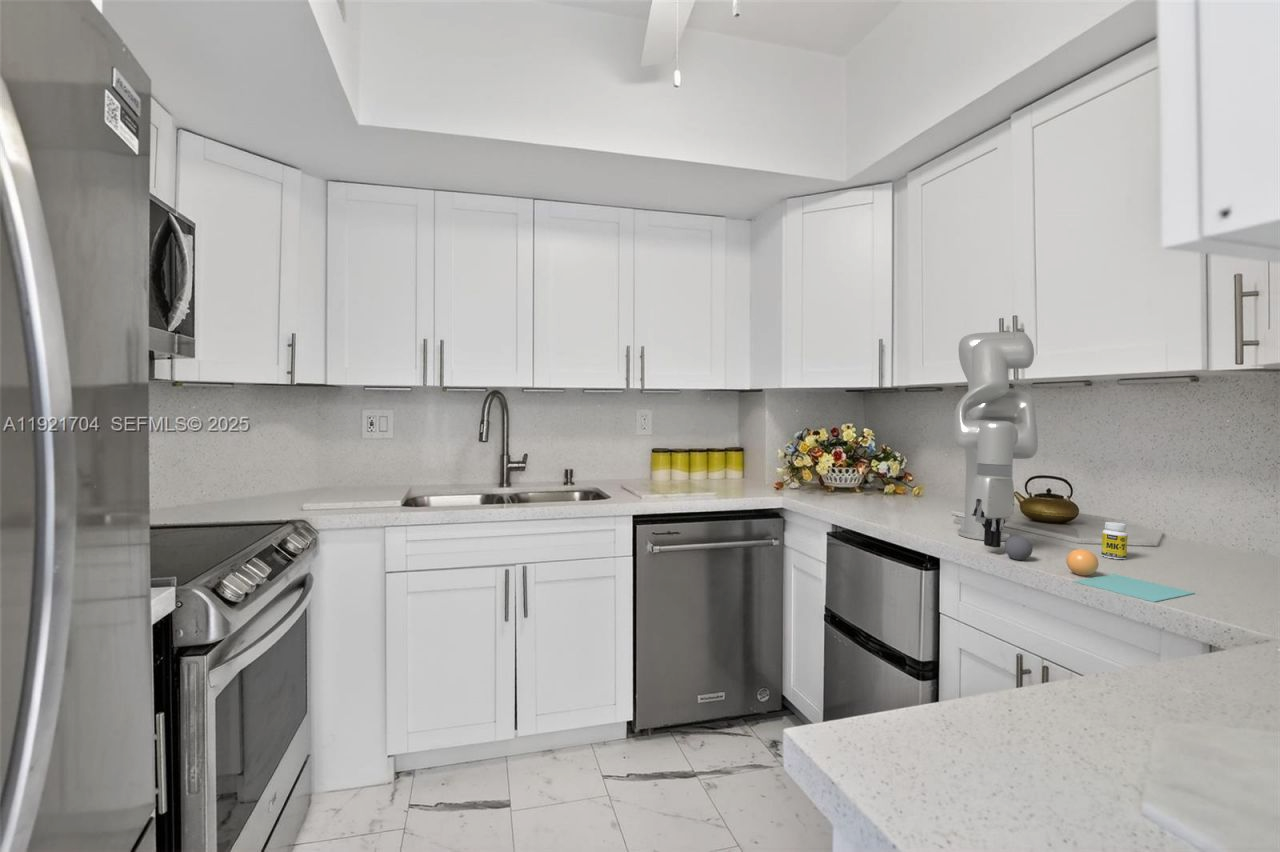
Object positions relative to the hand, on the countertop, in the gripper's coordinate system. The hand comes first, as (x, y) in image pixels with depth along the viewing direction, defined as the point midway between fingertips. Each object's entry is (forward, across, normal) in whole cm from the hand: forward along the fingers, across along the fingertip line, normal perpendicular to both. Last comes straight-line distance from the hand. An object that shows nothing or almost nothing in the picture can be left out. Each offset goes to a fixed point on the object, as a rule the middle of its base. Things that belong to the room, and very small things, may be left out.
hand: (992, 546), depth 147 cm
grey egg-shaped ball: (-1, -1, +6) cm, 6 cm away
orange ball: (-1, -1, +20) cm, 20 cm away
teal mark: (+2, -2, +30) cm, 30 cm away
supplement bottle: (+2, -25, +13) cm, 28 cm away
